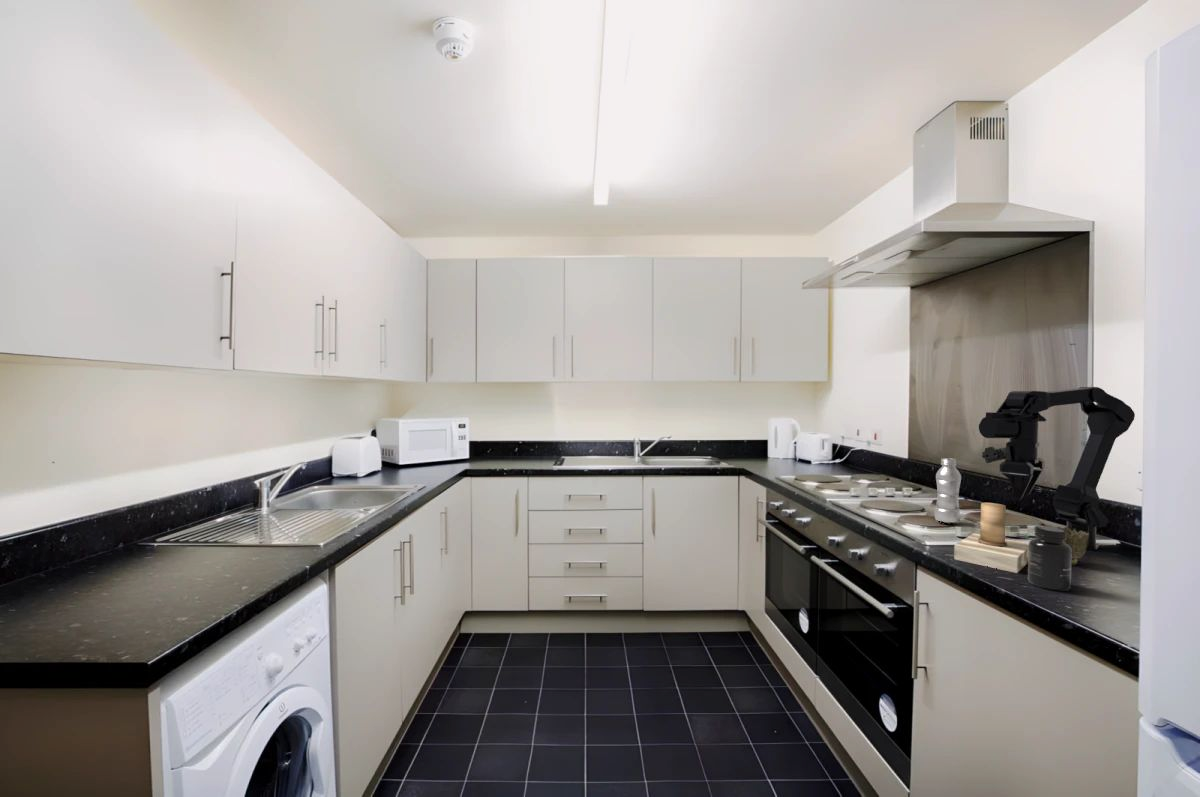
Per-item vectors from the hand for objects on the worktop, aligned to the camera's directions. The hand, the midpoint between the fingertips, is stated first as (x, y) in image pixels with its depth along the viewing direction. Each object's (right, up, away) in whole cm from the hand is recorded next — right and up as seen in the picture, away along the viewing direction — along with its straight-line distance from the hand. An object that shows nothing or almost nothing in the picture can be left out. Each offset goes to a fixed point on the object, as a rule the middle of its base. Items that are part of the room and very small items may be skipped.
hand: (1021, 497), depth 134 cm
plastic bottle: (-4, -13, +23) cm, 27 cm away
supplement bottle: (-17, -14, -27) cm, 34 cm away
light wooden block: (-15, -13, -10) cm, 22 cm away
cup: (0, -13, -13) cm, 18 cm away
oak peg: (-15, -13, -9) cm, 22 cm away
